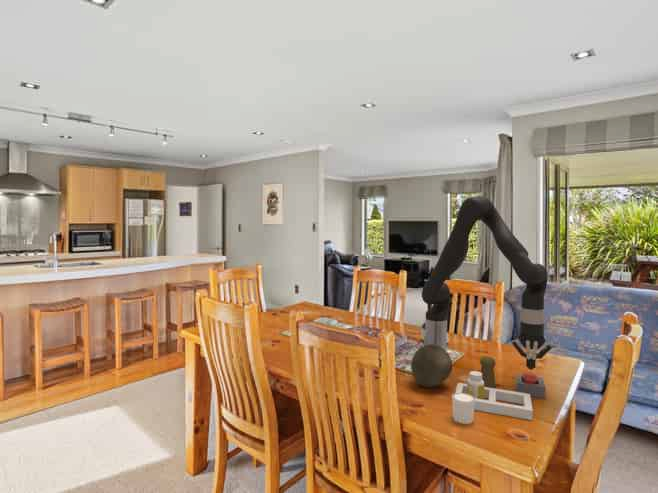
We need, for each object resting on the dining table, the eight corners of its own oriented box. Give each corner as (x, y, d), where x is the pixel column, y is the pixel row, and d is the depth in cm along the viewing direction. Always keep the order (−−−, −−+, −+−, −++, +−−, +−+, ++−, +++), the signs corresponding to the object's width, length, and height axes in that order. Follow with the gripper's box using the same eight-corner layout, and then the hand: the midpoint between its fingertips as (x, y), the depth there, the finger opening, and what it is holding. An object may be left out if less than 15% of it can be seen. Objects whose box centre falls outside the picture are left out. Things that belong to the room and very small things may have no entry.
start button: (523, 384, 140) (523, 376, 140) (522, 379, 144) (522, 371, 144) (537, 386, 139) (537, 378, 138) (536, 381, 143) (536, 373, 142)
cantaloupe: (421, 395, 138) (421, 353, 137) (405, 379, 152) (406, 341, 151) (458, 392, 141) (459, 350, 140) (439, 376, 155) (440, 338, 154)
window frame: (453, 406, 131) (454, 397, 130) (457, 390, 142) (457, 382, 142) (532, 420, 122) (532, 410, 121) (529, 402, 133) (530, 394, 133)
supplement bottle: (483, 399, 136) (484, 371, 135) (484, 406, 130) (485, 377, 130) (466, 397, 137) (467, 369, 137) (466, 403, 132) (467, 375, 132)
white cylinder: (447, 414, 125) (448, 392, 125) (468, 413, 126) (469, 392, 125) (456, 425, 118) (457, 402, 118) (478, 424, 119) (479, 402, 119)
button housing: (515, 394, 139) (516, 383, 139) (515, 384, 148) (515, 373, 147) (545, 398, 136) (545, 387, 136) (542, 388, 144) (543, 377, 144)
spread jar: (418, 340, 199) (419, 318, 198) (435, 337, 204) (436, 315, 204) (435, 347, 189) (436, 323, 188) (453, 344, 194) (453, 320, 193)
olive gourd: (497, 391, 142) (498, 361, 141) (479, 389, 143) (480, 359, 142) (494, 384, 148) (495, 355, 147) (477, 382, 149) (477, 354, 148)
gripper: (511, 321, 139) (510, 369, 140) (554, 325, 134) (553, 375, 135) (511, 316, 146) (509, 362, 147) (552, 319, 140) (550, 367, 142)
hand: (530, 368), depth 141 cm, fingers closed
